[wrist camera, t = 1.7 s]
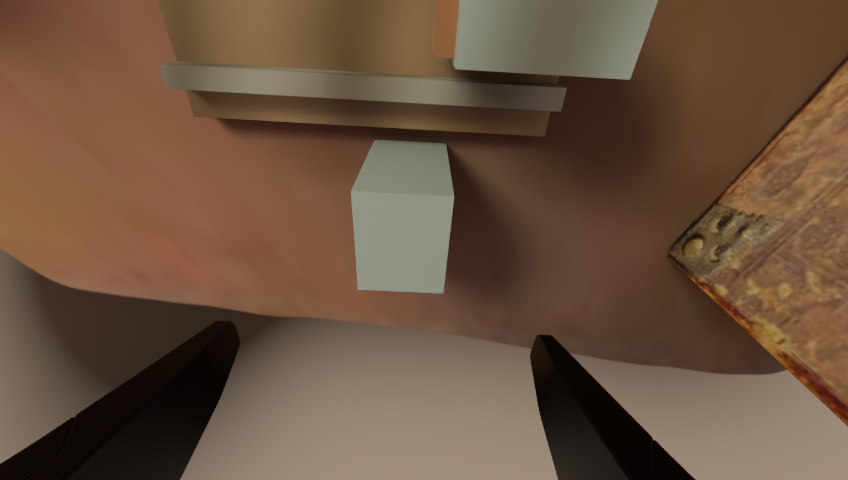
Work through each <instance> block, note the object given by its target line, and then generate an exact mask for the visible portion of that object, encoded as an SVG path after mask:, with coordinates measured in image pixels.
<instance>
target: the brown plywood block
mask: <svg viewBox="0 0 848 480" xmlns="http://www.w3.org/2000/svg"><path fill="white" fill-rule="evenodd" d="M667 255H668V258H669V259H670V260H671V261H672V262H673V263H674V264H676V265H677V266H678V267H679V268H680V269H681V270H682V271H683V272H684V273H685V274H686V275H687V276H688V277H689V278H690V279H692V280H693V281H694V282H695V283H696V284H697V285H698V286H699V287H700V288H701V289H702V290H703V291H704V292H705V293H706V294H707V295H709V296H710V297H711V298H712V299H713V300H714V301H715V302H716V303H717V304H718V305H719V306H720V307H721V308H722V309H723V310H725V311H726V312H727V313H728V314H729V315H730V316H731V317H732V318H733V319H734V320H735V321H736V322H737V323H738V324H739V325H741V326H742V327H743V328H744V329H745V330H746V331H747V332H748V333H749V334H750V335H751V336H752V337H753V338H754V339H755V340H757V341H758V342H759V343H760V344H761V345H762V346H763V347H764V348H765V349H766V350H767V351H768V352H769V353H770V354H771V355H772V356H774V357H775V358H776V359H777V360H778V361H779V362H780V363H781V364H782V365H783V366H784V367H785V368H786V369H787V370H788V371H790V372H791V373H792V374H793V375H794V376H795V377H796V378H797V379H798V380H799V381H800V382H801V383H802V384H803V385H804V386H806V387H807V388H808V389H809V390H810V391H811V392H812V393H813V394H814V395H815V396H816V397H818V399H819V400H820V401H822V402H823V403H824V404H825V405H826V406H827V407H828V408H829V409H830V410H831V411H832V412H833V413H834V414H835V415H837V417H839V418H840V419H841V420H842V421H843V422H844V423H845V424H846V425H847V426H848V55H847V57H846V58H845V59H844V60H843V61H842V62H841V63H840V64H839V65H838V66H837V67H836V68H835V69H834V71H833V72H832V73H831V74H830V75H829V76H828V77H827V78H826V79H825V80H824V81H823V82H822V84H821V85H820V86H819V87H818V88H817V89H816V90H815V91H814V92H813V93H812V94H811V95H810V96H809V98H808V99H807V100H806V101H805V102H804V103H803V104H802V105H801V106H800V107H799V108H798V109H797V111H796V112H795V113H794V114H793V115H792V116H791V117H790V118H789V119H788V120H787V121H786V122H785V123H784V125H783V126H782V127H781V128H780V129H779V130H778V131H777V132H776V133H775V134H774V135H773V136H772V138H771V139H770V140H769V141H768V142H767V143H766V144H765V145H764V146H763V147H762V148H761V149H760V150H759V152H758V153H757V154H756V155H755V156H754V157H753V158H752V159H751V160H750V161H749V162H748V163H747V165H746V166H745V167H744V168H743V169H742V170H741V171H740V172H739V173H738V174H737V175H736V176H735V177H734V179H733V180H732V181H731V182H730V183H729V184H728V185H727V186H726V187H725V188H724V189H723V190H722V192H721V193H720V194H719V195H718V196H717V197H716V198H715V199H714V200H713V201H712V202H711V203H710V205H709V206H708V207H707V208H706V209H705V210H704V211H703V212H702V213H701V214H700V215H699V216H698V217H697V219H696V220H695V221H694V222H693V223H692V224H691V225H690V226H689V227H688V228H687V229H686V230H685V232H684V233H683V234H682V235H681V236H680V237H679V238H678V239H677V240H676V241H675V242H674V243H673V245H672V246H671V247H670V248H669V249H668V250H667Z"/></svg>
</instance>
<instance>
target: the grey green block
mask: <svg viewBox="0 0 848 480" xmlns="http://www.w3.org/2000/svg"><path fill="white" fill-rule="evenodd" d="M351 199H352V213H353V227H354V241H355V255H356V269H357V283H358V290H379V291H401V292H423V293H444V284H445V275H446V266H447V257H448V248H449V239H450V230H451V221H452V212H453V203H454V192H453V185H452V179H451V172H450V166H449V160H448V153H447V147H446V143H431V142H413V141H396V140H378V139H375V141H374V143H373V145H372V147H371V149H370V151H369V153H368V156H367V158H366V160H365V162H364V164H363V166H362V168H361V171H360V173H359V175H358V177H357V179H356V181H355V183H354V186H353V188H352V190H351Z"/></svg>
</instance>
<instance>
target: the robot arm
mask: <svg viewBox="0 0 848 480" xmlns="http://www.w3.org/2000/svg"><path fill="white" fill-rule="evenodd" d="M239 346H240V338H239V335H238V332H237V329H236V327H235V324H234V322H233V321H231V320H218V321H215V322H213V323H212V324H211V325H209V326H208V327H206V328H205V329H203V330H202V331H200V332H199V333H197V334H196V335H194V336H193V337H191V338H190V339H188V340H187V341H185V342H184V343H182V344H181V345H179V346H178V347H176V348H175V349H174V350H172V351H170V352H169V353H167V354H166V355H164V356H163V357H161V358H160V359H159V360H157V361H155V362H154V363H152V364H151V365H149V366H148V367H147V368H145V369H144V370H142V371H141V372H139V373H138V374H136V375H135V376H133V377H132V378H130V379H129V380H127V381H126V382H124V383H123V384H121V385H120V386H118V387H117V388H115V389H114V390H112V391H111V392H109V393H108V394H106V395H105V396H103V397H102V398H100V399H99V400H97V401H96V402H94V403H93V404H91V405H90V406H89V407H87V408H85V409H84V410H83V411H81V412H80V413H78V414H77V415H76V416H75V417H72V418H70V419H69V420H68V421H66V422H64V423H63V424H62V425H60V426H58V427H57V428H56V429H54V430H53V431H51V432H49V433H48V434H47V435H45V436H43V437H42V438H41V439H39V440H37V441H36V442H34V443H33V444H31V445H30V446H28V447H27V448H25V449H23V450H22V451H20V452H19V453H17V454H15V455H14V456H12V457H11V458H9V459H7V460H6V461H4V462H2V463H1V464H0V480H180V479H181V477H182V475H183V473H184V470H185V469H186V467H187V465H188V463H189V461H190V458H191V457H192V454H193V453H194V451H195V448H196V446H197V444H198V442H199V440H200V438H201V436H202V434H203V432H204V430H205V428H206V426H207V424H208V422H209V420H210V418H211V416H212V414H213V412H214V410H215V408H216V406H217V404H218V402H219V399H220V397H221V395H222V392H223V390H224V387H225V385H226V382H227V379H228V377H229V374H230V371H231V368H232V366H233V363H234V360H235V358H236V355H237V352H238V350H239ZM530 359H531V366H532V372H533V378H534V384H535V389H536V395H537V402H538V407H539V412H540V416H541V420H542V423H543V427H544V430H545V434H546V438H547V441H548V445H549V448H550V452H551V455H552V459H553V462H554V466H555V470H556V473H557V476H558V480H695V479H694V478H693V477H692V476H691V475H690V474H689V473H688V472H687V471H686V470H685V469H684V468H683V467H682V466H681V465H680V464H679V463H678V462H676V460H674V458H672V457H671V456H670V455H669V454H668V453H667V452H666V451H665V450H664V449H663V448H662V447H661V446H660V444H659V443H658V442H657V441H655V440H653V438H652V437H651V436H650V434H649V433H648V432H647V431H646V430H645V429H644V428H643V427H642V426H641V425H640V424H639V423H637V421H636V420H635V419H634V418H633V417H632V416H631V415H630V414H629V413H628V412H627V411H626V410H625V409H624V408H623V407H622V406H621V405H620V404H619V403H618V402H617V401H616V400H615V399H614V398H613V397H612V396H611V395H610V394H609V393H608V392H607V391H606V390H605V389H604V388H603V387H602V386H601V385H600V384H599V383H598V382H597V381H596V380H595V379H594V378H593V377H592V376H591V375H590V374H589V373H588V372H587V371H586V370H585V369H584V368H583V367H582V366H581V365H580V363H579V362H578V361H577V360H575V358H574V357H573V356H572V355H571V354H570V353H569V352H568V351H567V350H566V349H565V348H564V347H563V346H562V345H561V344H560V343H559V342H558V341H557V340H556V339H555V338H554V337H553V336H551V335H537V336H536V339H535V342H534V344H533V347H532V350H531V354H530Z"/></svg>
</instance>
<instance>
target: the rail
mask: <svg viewBox="0 0 848 480" xmlns="http://www.w3.org/2000/svg"><path fill="white" fill-rule="evenodd" d="M657 2H658V0H159V3H160V7H161V10H162V13H163V16H164V20H165V23H166V26H167V29H168V33H169V36H170V39H171V42H172V46H173V49H174V52H175V55H176V59H177V61H175V62H168V63H161V64H159V67H160V70H161V73H162V76H163V79H164V82H165V85H166V88H167V89H180V90H186V91H187V94H188V98H189V101H190V104H191V107H192V111H193V114H194V117H208V118H226V119H243V120H261V121H279V122H296V123H314V124H332V125H349V126H367V127H385V128H402V129H420V130H438V131H455V132H473V133H491V134H508V135H526V136H543V137H545V133H546V129H547V125H548V120H549V116H550V112H551V111H558V112H561V109H562V105H563V102H564V98H565V94H566V90H567V88H566V87H563V86H561V85H559V84H558V80H559V76H576V77H592V78H609V79H625V80H630V79H631V76H632V73H633V70H634V67H635V64H636V62H637V59H638V56H639V53H640V50H641V47H642V45H643V42H644V39H645V36H646V33H647V30H648V27H649V25H650V22H651V19H652V16H653V13H654V10H655V8H656V5H657Z"/></svg>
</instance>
